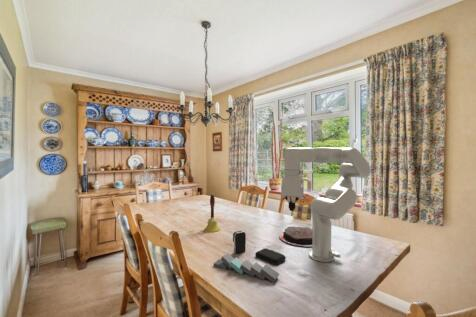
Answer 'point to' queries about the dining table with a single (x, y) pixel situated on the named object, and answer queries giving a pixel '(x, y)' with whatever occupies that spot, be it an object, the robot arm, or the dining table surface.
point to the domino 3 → (237, 265)
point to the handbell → (212, 219)
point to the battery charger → (239, 241)
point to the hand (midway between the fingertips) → (291, 210)
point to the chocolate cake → (297, 236)
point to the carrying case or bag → (270, 256)
